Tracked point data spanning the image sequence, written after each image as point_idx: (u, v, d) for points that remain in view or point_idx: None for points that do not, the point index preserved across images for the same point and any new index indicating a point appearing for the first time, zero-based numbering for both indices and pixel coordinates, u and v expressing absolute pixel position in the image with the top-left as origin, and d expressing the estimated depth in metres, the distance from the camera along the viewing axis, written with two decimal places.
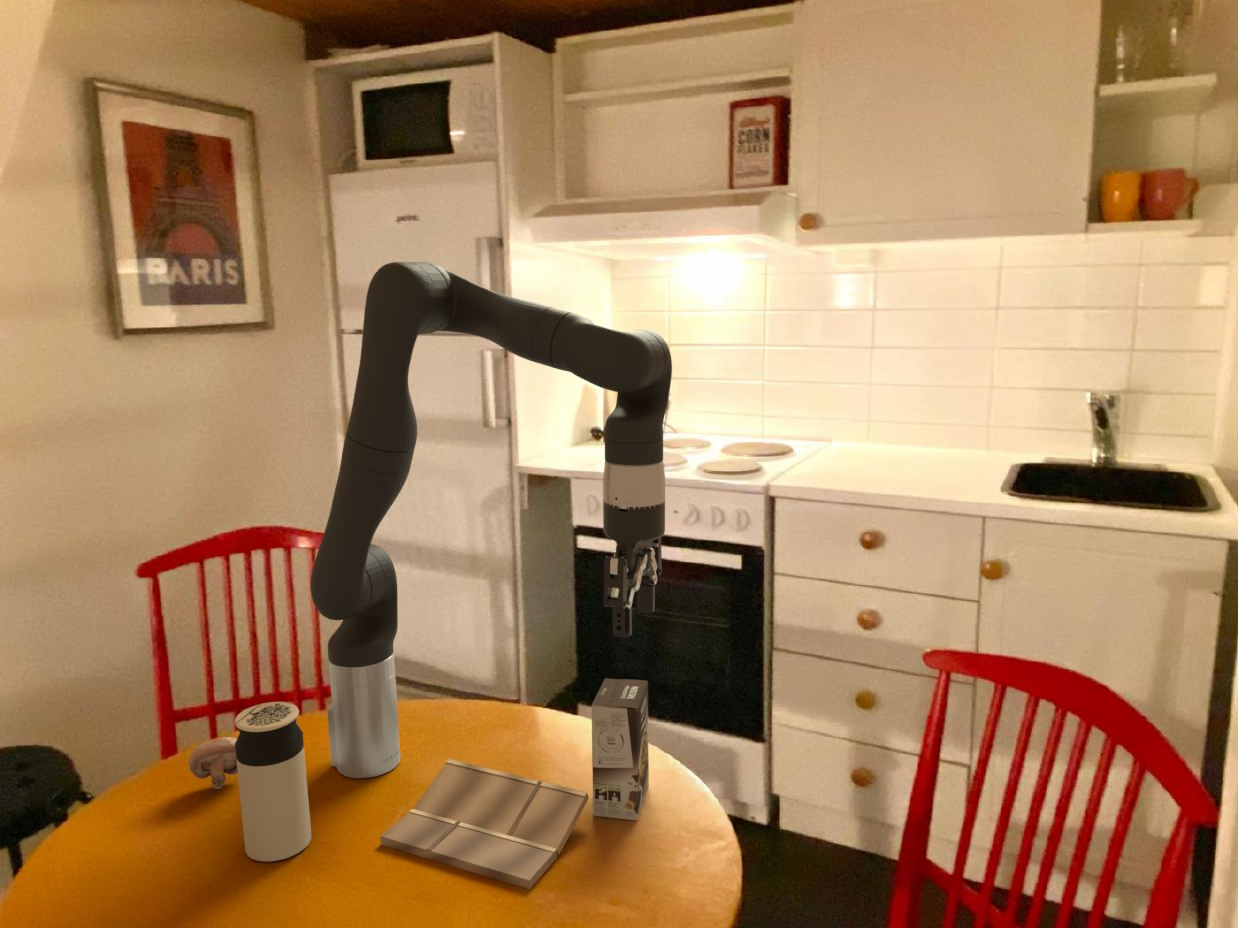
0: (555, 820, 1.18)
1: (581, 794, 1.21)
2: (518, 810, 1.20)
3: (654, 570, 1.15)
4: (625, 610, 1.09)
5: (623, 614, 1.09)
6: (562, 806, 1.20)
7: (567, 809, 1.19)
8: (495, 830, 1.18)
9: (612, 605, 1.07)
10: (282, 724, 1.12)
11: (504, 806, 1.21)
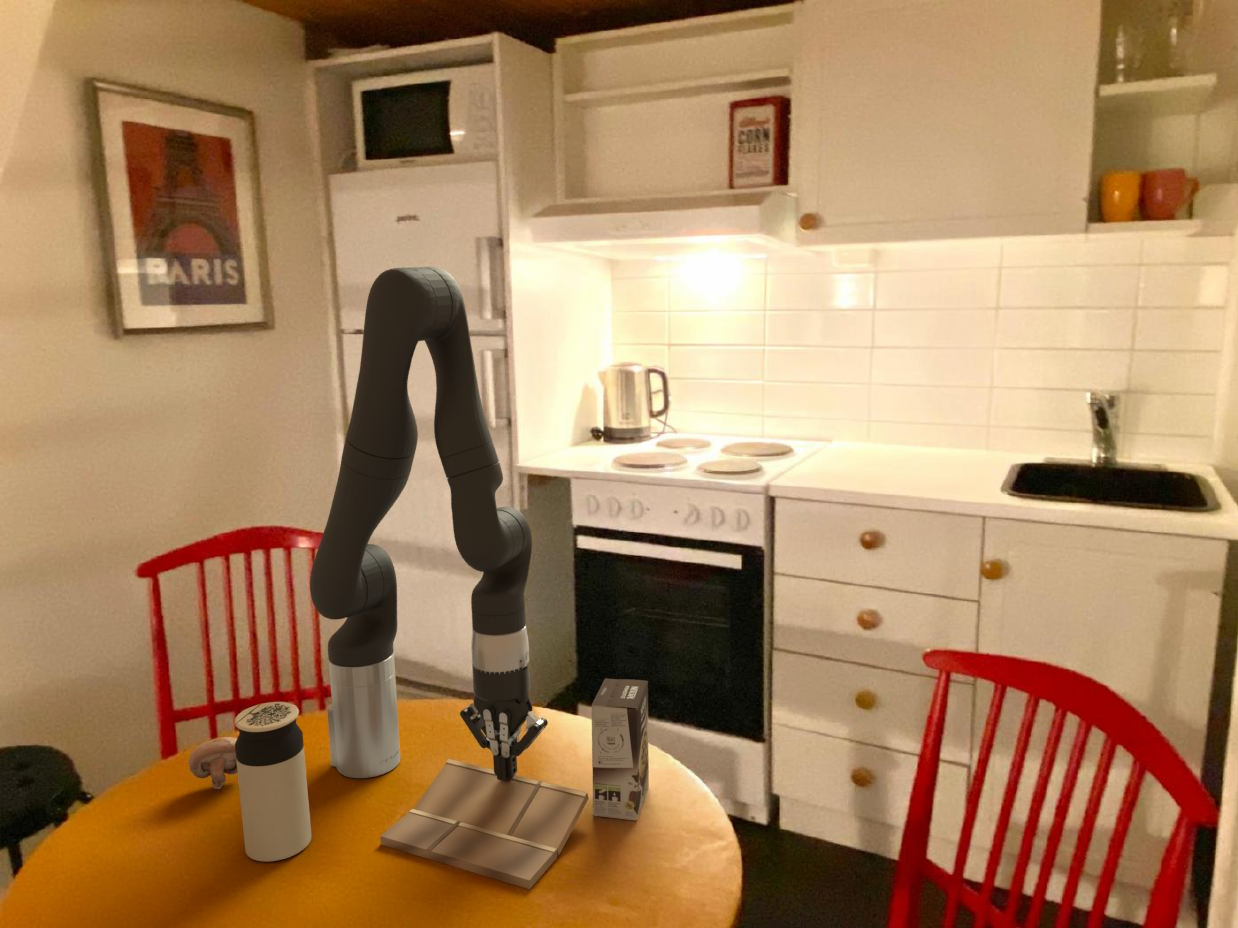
0: (555, 820, 1.18)
1: (581, 794, 1.21)
2: (518, 810, 1.20)
3: None
4: None
5: (516, 756, 1.24)
6: (562, 806, 1.20)
7: (567, 809, 1.19)
8: (495, 830, 1.18)
9: None
10: (282, 724, 1.12)
11: (505, 806, 1.21)
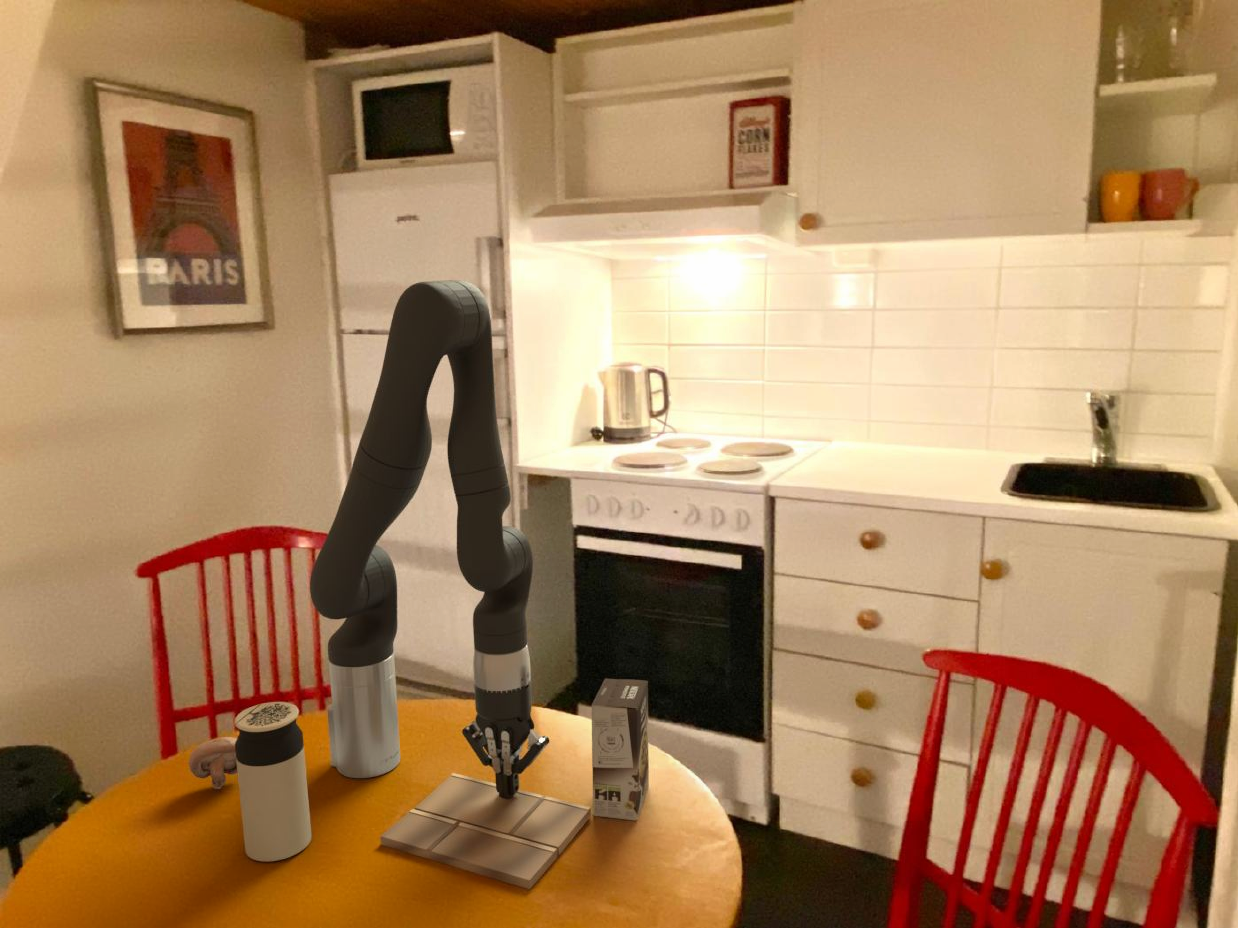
0: (557, 825, 1.19)
1: (585, 808, 1.22)
2: (521, 815, 1.21)
3: None
4: None
5: (518, 774, 1.25)
6: (565, 815, 1.21)
7: (570, 818, 1.20)
8: (497, 828, 1.18)
9: None
10: (282, 724, 1.12)
11: (507, 811, 1.22)
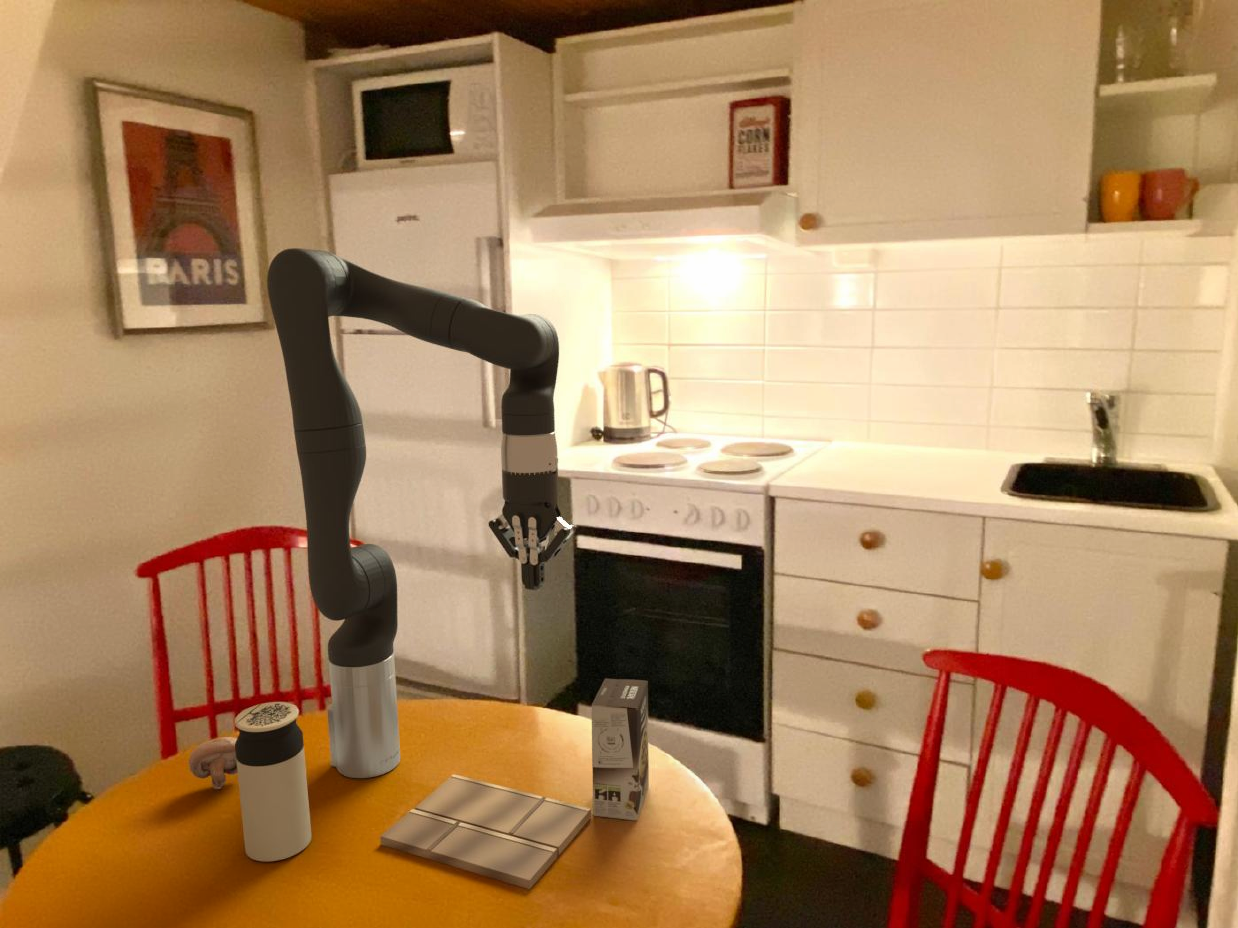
0: (557, 826, 1.19)
1: (585, 809, 1.22)
2: (521, 816, 1.21)
3: None
4: (542, 562, 1.26)
5: (543, 566, 1.26)
6: (565, 816, 1.21)
7: (570, 819, 1.20)
8: (497, 828, 1.18)
9: (551, 557, 1.24)
10: (282, 724, 1.12)
11: (508, 812, 1.22)
